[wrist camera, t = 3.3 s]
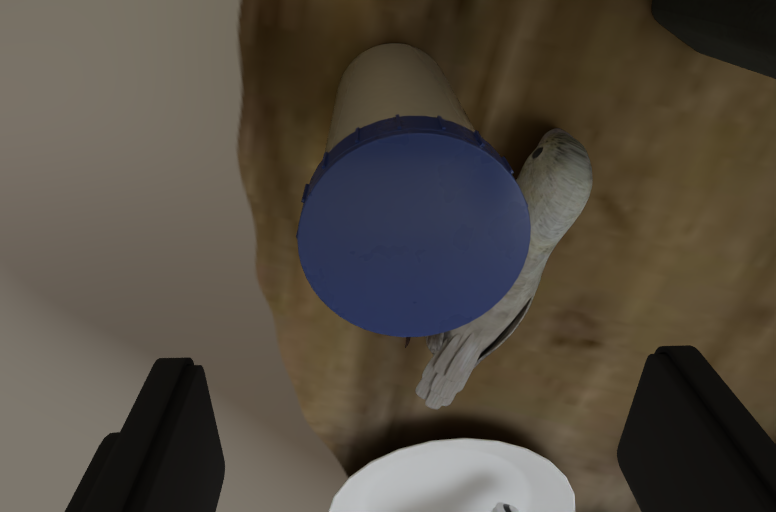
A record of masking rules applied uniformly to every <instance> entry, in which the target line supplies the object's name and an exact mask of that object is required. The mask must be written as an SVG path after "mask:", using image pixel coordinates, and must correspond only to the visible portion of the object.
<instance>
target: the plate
mask: <svg viewBox="0 0 776 512" xmlns="http://www.w3.org/2000/svg"><path fill="white" fill-rule="evenodd" d="M499 502H502V503H505V504H509V505H512V506H514V507H516V508H517V509H518V510H519V512H575V496H574V492H573V490H572V488H571V486H570V484H569V482H568V479H567V477H566V476H565V475H564V474H563V473H562V472H561V471H560V470H559V469H558V468H557V467H556V466H555V465H554V464H553V463H552V462H551V461H550V460H548V459H546V458H544V457H542V456H540V455H538V454H537V453H535V452H533V451H531V450H529V449H527V448H524V447H520V446H516V445H513V444H509V443H505V442H501V441H498V440H486V439H474V438H455V439H444V440H432V441H427V442H424V443H420V444H416V445H412V446H408V447H404V448H400V449H397V450H395V451H393V452H391V453H389V454H386V455H384V456H382V457H380V458H377V459H375V460H373V461H371V462H369V463H368V464H367V465H365V466H364V467H362V468H361V469H360V470H358V471H357V472H356V473H354V474H353V475H351V476H350V477H349V478H348V479H347V481H346V482H345V483H344V484H343V485H342V487H341V488H340V489H339V490H338V491H337V493H336V494H335V495H334V497H333V501H332V503H331V506H330V508H329V511H328V512H491V511H493V508H495V507H496V504H497V503H499Z"/></svg>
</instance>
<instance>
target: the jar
mask: <svg viewBox="0 0 776 512" xmlns="http://www.w3.org/2000/svg"><path fill="white" fill-rule="evenodd" d="M396 114H399V117H400V116H429V117H436V118H437V116H438V115H439V116H441V117H442V119H444V120H448V121H452V122H454V123H457V124H459V125H461V126H464V127H466V128H468V129H470V130H471V131H473V132H475V129H474V127H473V125H472V124H471V122H470V120H469V118H468V116H467V115H466V113H465V111H464V109H463V107H462V106H461V104H460V102H459V100H458V98H457V97H456V95H455V93H454V91H453V89H452V88H451V86H450V84H449V82H448V80H447V79H446V77H445V75H444V73H443V72H442V70H441V68H440V67H439V65H438V64H437V63H436V62H435V61H434V60H433V59H432V58H431V57H430V56H429V55H428V54H426V53H425V52H423V51H421V50H419V49H417V48H415V47H413V46H409V45H405V44H399V43H389V44H382V45H379V46H375V47H373V48H370V49H368V50H366V51H365V52H363V53H361V54H360V55H359V56H358V57H356V58H355V59H354V60H353V61H352V62H351V63H350V65H349V66H348V67H347V69H346V70H345V72H344V74H343V76H342V77H341V80H340V83H339V86H338V90H337V95H336V100H335V105H334V109H333V114H332V119H331V124H330V129H329V133H328V138H327V143H326V148H325V152H328V153H329V152H330V151H331V150H332V149H333V148H334V147H335V146H336V145H337V144H338V143H339V142H340V141H342V140H343V139H344V138H346V137H347V136H348V135H350V134H351V133H353V132H355V128H357V127H359V128H362V127H364V126H367V125H369V124H372V123H374V122H377V121H380V120H384V119H388V118H392V117H396V116H395V115H396Z"/></svg>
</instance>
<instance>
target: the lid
mask: <svg viewBox="0 0 776 512" xmlns="http://www.w3.org/2000/svg"><path fill="white" fill-rule="evenodd" d="M395 116H396V117H392V118H388V119H384V120H380V121H377V122H374V123H372V124H369V125H367V126H364V127H362V128H359V127H357V128H355V132H353V133H351V134H350V135H348V136H347V137H346V138H344V139H343V140H342V141H340V142H339V143H338V144H337V145H336V146H335V147H334V148H333V149H332V150H331V151H330V152H329V153H328V152H325V153H324V157H323V160H322V161H321V163H320V164H319V165H318V167H317V169H316V171H315V172H314V174H313V176H312V178H311V181H310V183H309V184H306V186H305V189H304V193H303V197H302V201H301V202H303V203H304V204H303V208H302V212H301V216H300V221H299V225H298V231H297V235H296V238H297V240H298V253H299V257H300V261H301V265H302V268H303V271H304V273H305V276H306V278H307V280H308V281H309V283H310V285H311V287H312V288H313V290H314V291H315V293H316V294H317V295H318V296H319V298H320V299H321V300H322V301H323V302H324V303H325V304H326V305H327V306H328V307H329V308H330V309H331V310H332V311H334V312H335V313H336V314H338V315H339V316H340V317H342V318H343V319H345V320H347V321H348V322H350V323H352V324H354V325H356V326H359V327H361V328H363V329H366V330H369V331H372V332H375V333H379V334H384V335H389V336H398V337H421V336H430V335H435V334H440V333H444V332H447V331H450V330H453V329H456V328H459V327H461V326H463V325H466V324H468V323H470V322H472V321H473V320H475V319H477V318H479V317H480V316H482V315H483V314H485V313H486V312H487V311H489V310H490V309H491V308H493V307H494V306H495V305H496V304H497V303H498V302H499V301H500V300H501V299H502V298H503V297H504V296H505V295H506V294H507V292H508V291H509V290H510V289H511V287H512V286H513V284H514V283H515V281H516V280H517V278H518V276H519V274H520V272H521V270H522V268H523V266H524V263H525V260H526V257H527V254H528V250H529V244H530V235H531V224H530V216H529V211H528V204H527V202H526V200H525V198H524V195H523V193H522V191H521V189H520V187H519V185H518V183H517V182H516V180H515V178H514V177H513V175H512V174H513V173H514V171H513V170H512V168H511V166H510V165H509V163H508V162H507V160H506V158H505V157H504V156H503V157H502V158H501V156H500V155H499V154H498V153H497V151H496V150H495V149H494V148H493V147H492V146H491V145H490V144H489V143H488V142H487V141H485V140H484V139H483V138H482V137H481V135H480V134H479V132H478V131H476V130H475V132H473V131H471V130H470V129H468V128H466V127H464V126H461V125H459V124H457V123H454V122H452V121H448V120H444V119H442V117H441V116H439V115H438V116H437V118H436V117H429V116H400V117H399V114H396V115H395Z"/></svg>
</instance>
